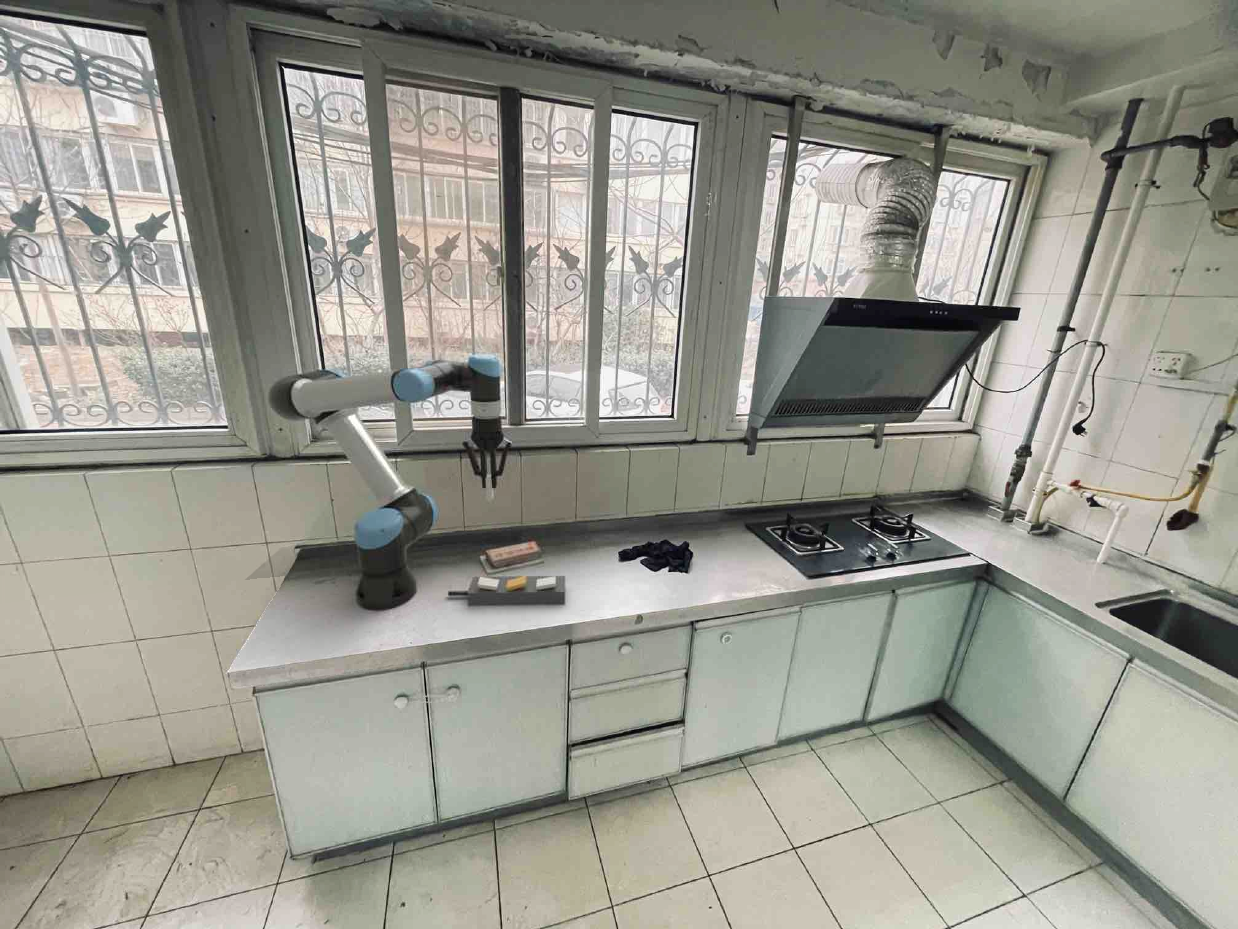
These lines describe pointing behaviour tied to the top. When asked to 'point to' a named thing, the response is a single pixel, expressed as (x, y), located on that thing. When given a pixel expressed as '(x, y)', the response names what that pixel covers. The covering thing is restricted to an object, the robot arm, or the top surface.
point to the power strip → (514, 592)
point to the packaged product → (511, 557)
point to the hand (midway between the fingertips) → (490, 498)
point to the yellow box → (516, 583)
